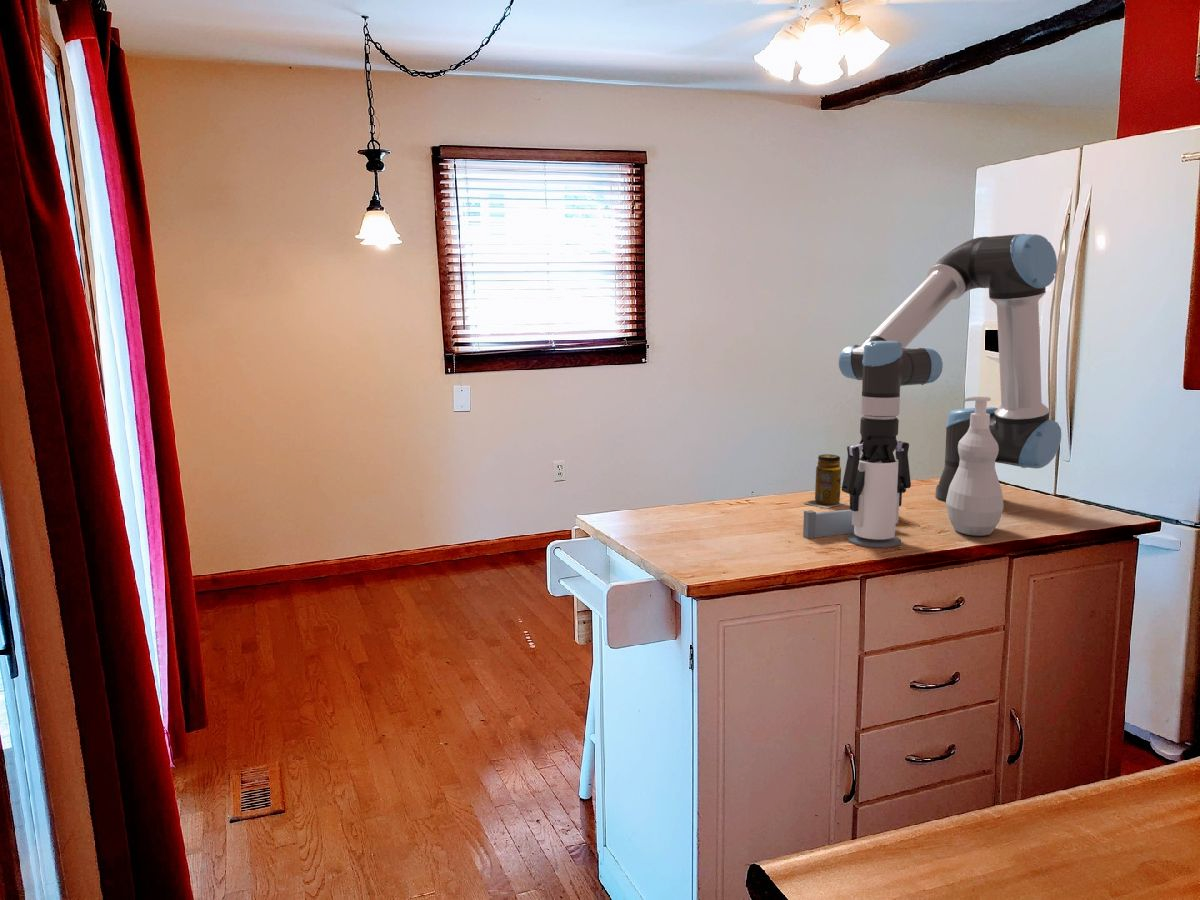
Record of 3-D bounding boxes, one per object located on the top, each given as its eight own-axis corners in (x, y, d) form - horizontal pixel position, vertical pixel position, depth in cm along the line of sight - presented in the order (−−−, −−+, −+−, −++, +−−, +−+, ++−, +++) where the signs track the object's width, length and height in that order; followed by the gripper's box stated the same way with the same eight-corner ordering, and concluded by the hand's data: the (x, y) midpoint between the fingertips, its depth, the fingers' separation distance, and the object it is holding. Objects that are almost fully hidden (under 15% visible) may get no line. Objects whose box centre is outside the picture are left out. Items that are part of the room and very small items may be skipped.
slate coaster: (879, 531, 195) (879, 530, 195) (912, 544, 185) (912, 542, 185) (836, 536, 191) (836, 534, 191) (868, 550, 181) (868, 548, 181)
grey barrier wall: (887, 526, 199) (888, 502, 198) (892, 528, 198) (893, 504, 197) (803, 536, 192) (803, 511, 191) (807, 538, 190) (808, 512, 189)
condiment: (846, 503, 222) (848, 455, 220) (828, 508, 217) (830, 460, 215) (821, 498, 228) (823, 452, 226) (802, 504, 222) (804, 456, 220)
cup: (881, 541, 182) (884, 464, 179) (846, 534, 188) (849, 459, 186) (902, 534, 188) (906, 459, 185) (868, 527, 194) (871, 454, 191)
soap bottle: (941, 520, 205) (948, 392, 200) (995, 523, 202) (1004, 393, 197) (947, 539, 189) (956, 401, 184) (1007, 543, 186) (1017, 402, 181)
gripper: (909, 411, 191) (904, 515, 195) (825, 417, 184) (821, 524, 188) (933, 416, 184) (927, 523, 188) (847, 421, 177) (842, 532, 181)
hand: (874, 523), depth 188 cm, fingers closed on cup, 8 cm apart
